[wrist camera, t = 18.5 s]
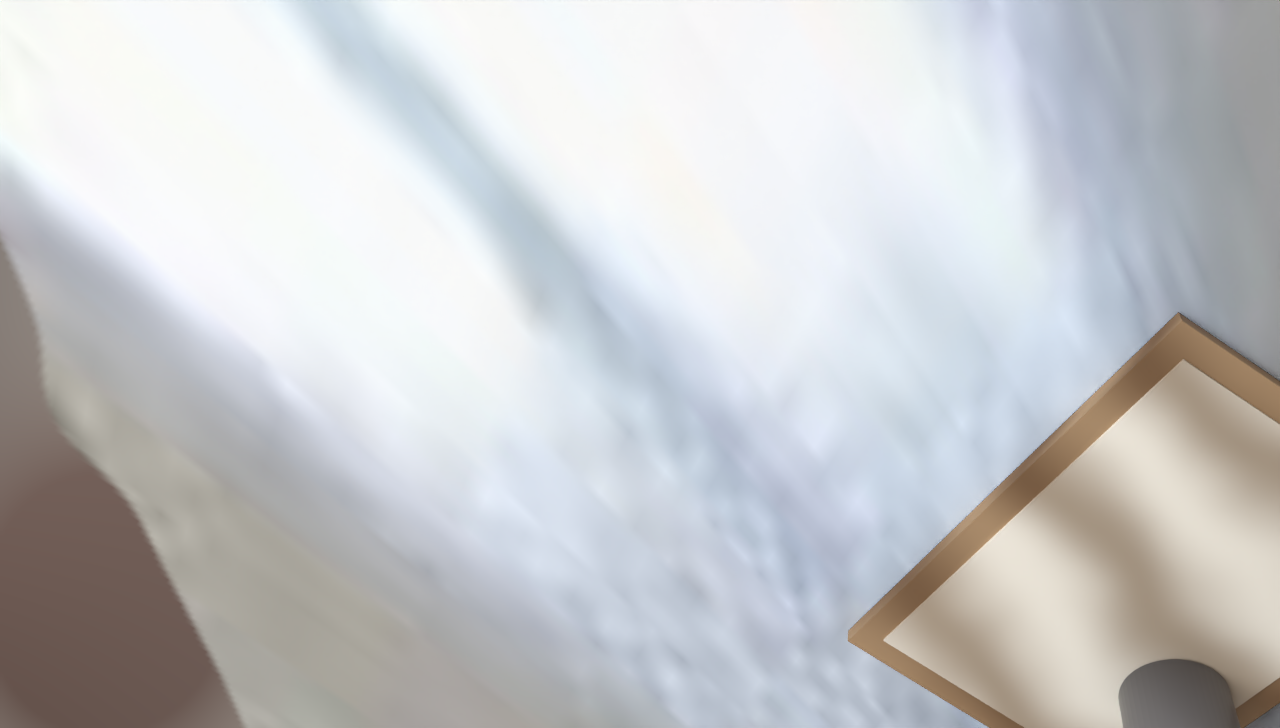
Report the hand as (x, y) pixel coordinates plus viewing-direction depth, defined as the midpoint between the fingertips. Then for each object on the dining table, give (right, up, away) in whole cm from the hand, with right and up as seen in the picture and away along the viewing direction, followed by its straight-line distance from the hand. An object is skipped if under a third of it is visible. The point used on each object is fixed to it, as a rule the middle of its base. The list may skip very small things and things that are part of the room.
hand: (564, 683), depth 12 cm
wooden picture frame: (+20, -5, +32) cm, 38 cm away
